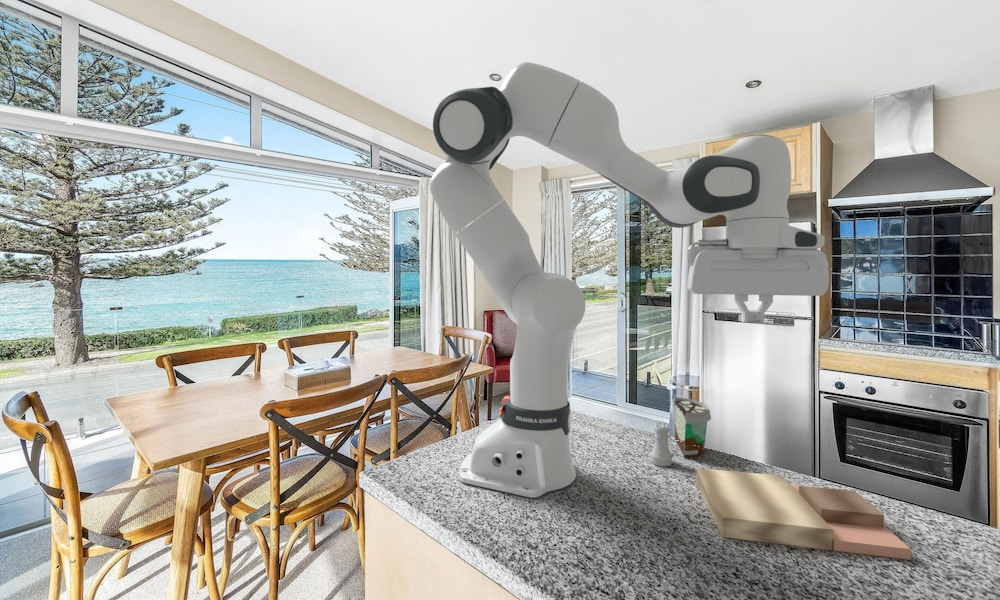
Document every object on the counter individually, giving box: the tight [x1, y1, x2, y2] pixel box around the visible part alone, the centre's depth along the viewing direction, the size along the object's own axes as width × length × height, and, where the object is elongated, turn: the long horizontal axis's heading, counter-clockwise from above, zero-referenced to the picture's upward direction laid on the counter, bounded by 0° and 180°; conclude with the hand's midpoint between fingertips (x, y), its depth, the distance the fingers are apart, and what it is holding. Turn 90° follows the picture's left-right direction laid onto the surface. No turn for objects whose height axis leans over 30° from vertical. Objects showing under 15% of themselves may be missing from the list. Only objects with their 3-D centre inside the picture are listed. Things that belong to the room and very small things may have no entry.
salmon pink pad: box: [791, 484, 912, 561], centre depth 65 cm, size 9×16×2 cm, turn 167°
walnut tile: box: [798, 485, 885, 528], centre depth 65 cm, size 8×7×2 cm
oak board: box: [696, 467, 833, 551], centre depth 68 cm, size 14×16×3 cm
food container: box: [673, 397, 712, 459], centre depth 92 cm, size 12×6×10 cm, turn 168°
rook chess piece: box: [649, 421, 674, 468], centre depth 86 cm, size 4×4×8 cm
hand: (752, 322), depth 70 cm, fingers closed
